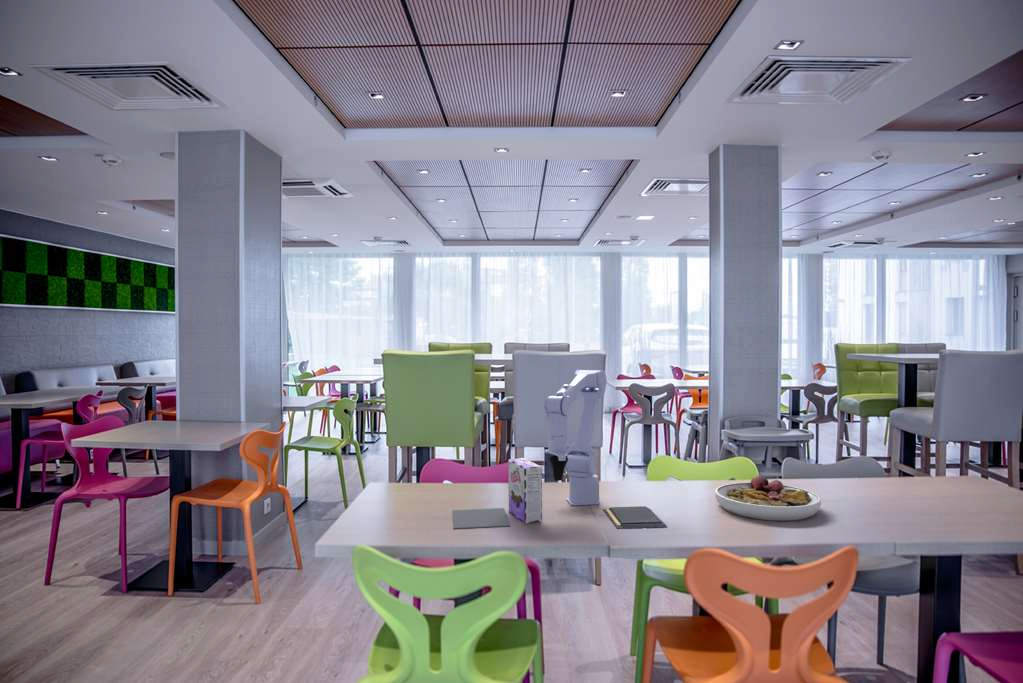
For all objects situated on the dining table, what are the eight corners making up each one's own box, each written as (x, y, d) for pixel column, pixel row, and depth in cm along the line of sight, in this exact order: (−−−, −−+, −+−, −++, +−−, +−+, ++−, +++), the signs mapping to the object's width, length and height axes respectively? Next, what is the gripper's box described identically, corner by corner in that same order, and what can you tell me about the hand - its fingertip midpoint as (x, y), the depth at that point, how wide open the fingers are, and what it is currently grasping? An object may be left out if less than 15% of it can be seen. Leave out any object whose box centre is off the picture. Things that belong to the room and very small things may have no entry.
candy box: (507, 511, 186) (507, 458, 186) (525, 509, 188) (524, 457, 188) (524, 524, 173) (523, 467, 173) (543, 521, 176) (542, 465, 175)
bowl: (834, 526, 169) (834, 498, 168) (722, 521, 175) (722, 494, 175) (805, 499, 198) (804, 475, 198) (709, 495, 204) (709, 472, 204)
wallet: (668, 523, 168) (614, 524, 168) (668, 530, 168) (614, 531, 168) (650, 504, 188) (602, 505, 188) (650, 510, 188) (602, 511, 188)
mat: (504, 509, 189) (504, 508, 189) (510, 526, 171) (510, 525, 171) (452, 511, 188) (452, 510, 188) (453, 529, 170) (453, 528, 170)
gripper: (540, 432, 189) (541, 475, 189) (548, 439, 175) (549, 486, 175) (562, 431, 190) (563, 474, 190) (572, 438, 176) (572, 485, 176)
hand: (558, 480), depth 183 cm, fingers closed
